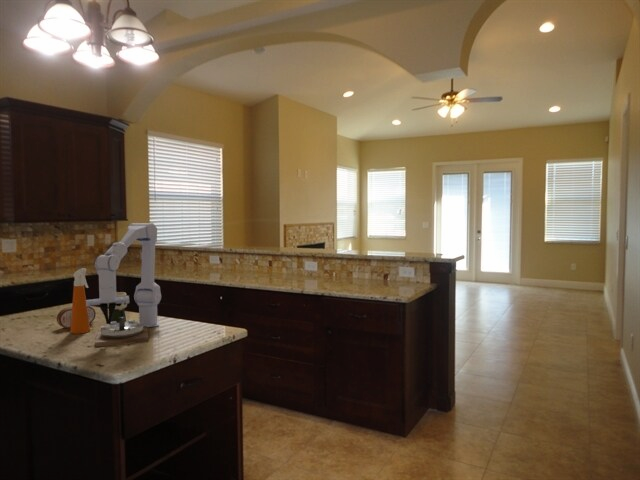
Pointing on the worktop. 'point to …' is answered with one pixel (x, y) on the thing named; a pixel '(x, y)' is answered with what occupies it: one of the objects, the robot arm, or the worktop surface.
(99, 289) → the robot arm
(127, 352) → the worktop surface
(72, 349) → the worktop surface
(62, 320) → the tin
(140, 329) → the grey disc with blocks
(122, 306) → the character mug
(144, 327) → the base board
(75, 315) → the spray bottle
